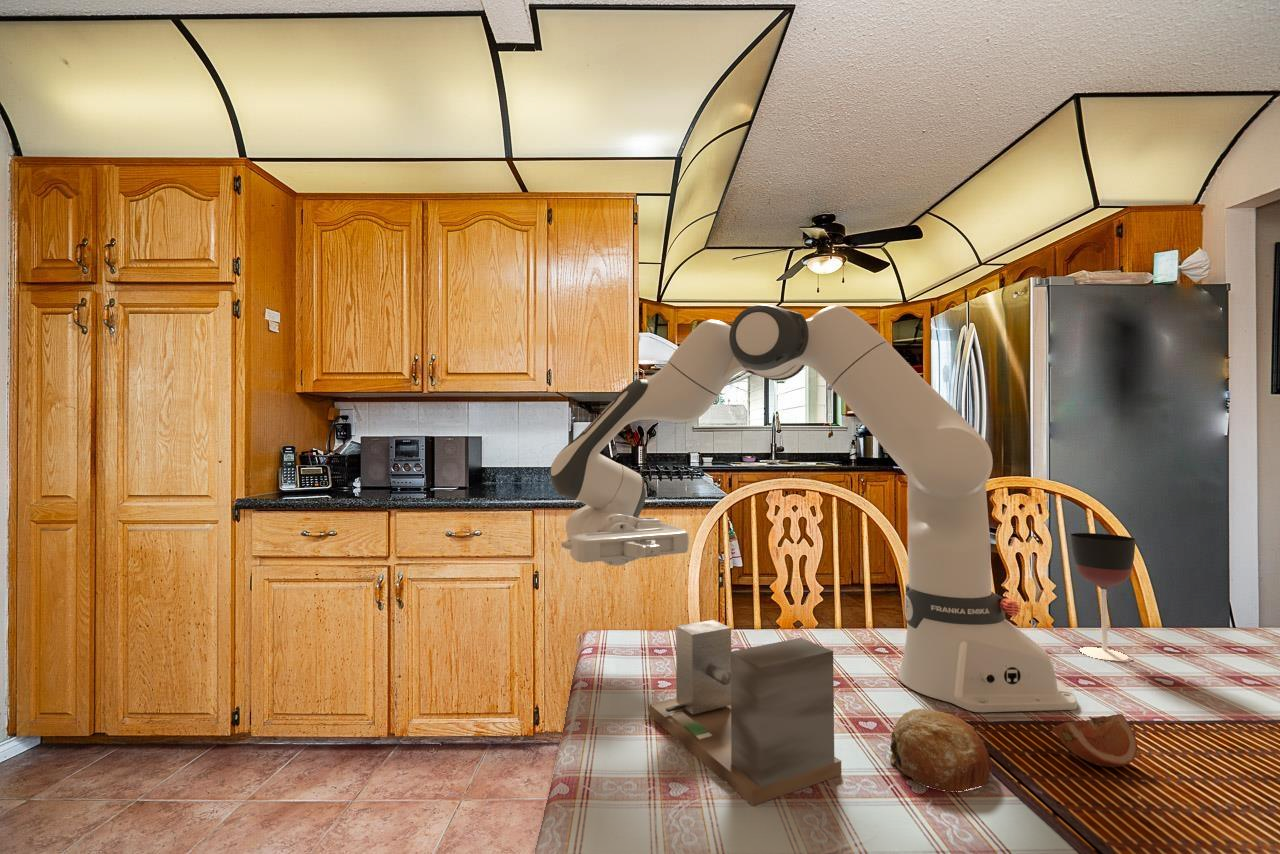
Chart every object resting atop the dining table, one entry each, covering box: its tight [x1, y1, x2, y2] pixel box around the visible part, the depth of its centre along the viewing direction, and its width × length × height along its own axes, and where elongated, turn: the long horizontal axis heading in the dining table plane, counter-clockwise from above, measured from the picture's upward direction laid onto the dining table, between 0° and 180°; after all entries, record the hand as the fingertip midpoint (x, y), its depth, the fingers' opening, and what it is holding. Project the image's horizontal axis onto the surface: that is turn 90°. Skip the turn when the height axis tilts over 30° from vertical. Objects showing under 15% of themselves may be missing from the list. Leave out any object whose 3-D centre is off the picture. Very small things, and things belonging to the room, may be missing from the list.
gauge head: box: [666, 619, 732, 715], centre depth 76 cm, size 7×9×10 cm
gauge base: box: [648, 637, 842, 807], centre depth 71 cm, size 22×12×14 cm, turn 27°
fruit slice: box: [1052, 713, 1138, 768], centre depth 67 cm, size 8×7×5 cm
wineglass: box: [1070, 532, 1136, 660], centre depth 101 cm, size 8×9×20 cm
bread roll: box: [889, 708, 993, 792], centre depth 66 cm, size 10×10×8 cm
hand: (651, 551), depth 91 cm, fingers closed
